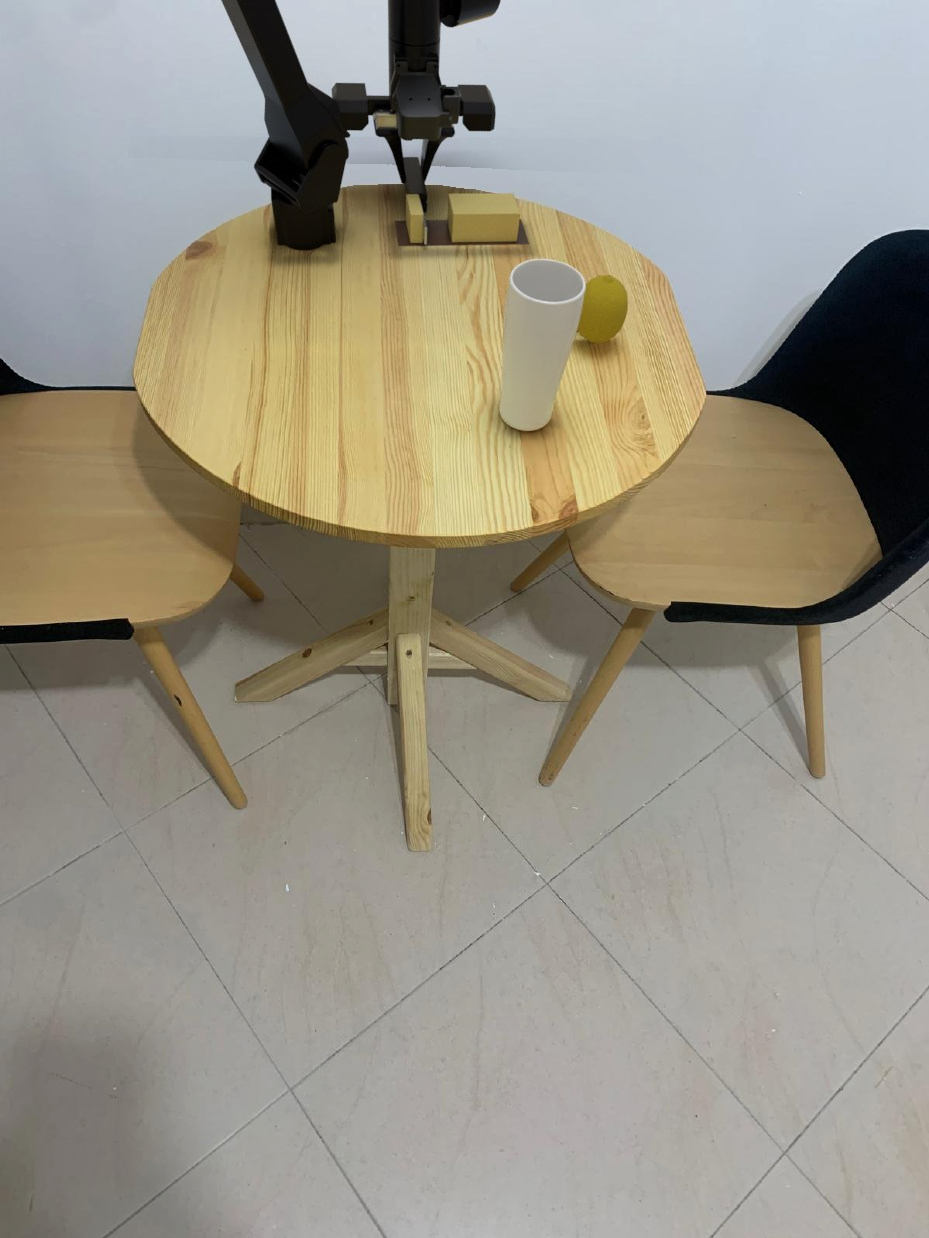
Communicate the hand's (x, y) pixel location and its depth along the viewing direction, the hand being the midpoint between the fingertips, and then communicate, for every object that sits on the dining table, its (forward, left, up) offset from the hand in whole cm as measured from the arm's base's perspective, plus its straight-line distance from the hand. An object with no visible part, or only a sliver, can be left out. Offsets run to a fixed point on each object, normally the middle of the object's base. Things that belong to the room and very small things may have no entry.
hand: (412, 182), depth 97 cm
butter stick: (+8, -9, -1) cm, 12 cm away
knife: (0, -5, -1) cm, 5 cm away
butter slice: (-1, -9, -1) cm, 9 cm away
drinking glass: (+7, -41, -3) cm, 41 cm away
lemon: (+17, -29, -3) cm, 34 cm away
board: (+5, -9, -2) cm, 11 cm away
